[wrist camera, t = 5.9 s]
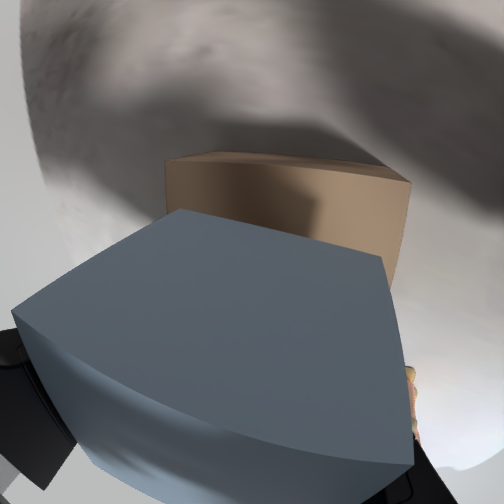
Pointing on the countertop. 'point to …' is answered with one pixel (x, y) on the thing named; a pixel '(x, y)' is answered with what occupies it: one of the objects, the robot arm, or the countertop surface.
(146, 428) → the slate-blue cube
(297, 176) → the tan flat block
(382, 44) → the countertop surface
